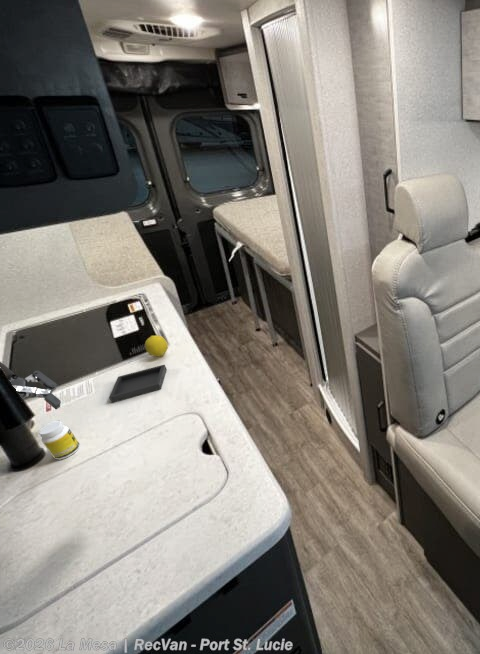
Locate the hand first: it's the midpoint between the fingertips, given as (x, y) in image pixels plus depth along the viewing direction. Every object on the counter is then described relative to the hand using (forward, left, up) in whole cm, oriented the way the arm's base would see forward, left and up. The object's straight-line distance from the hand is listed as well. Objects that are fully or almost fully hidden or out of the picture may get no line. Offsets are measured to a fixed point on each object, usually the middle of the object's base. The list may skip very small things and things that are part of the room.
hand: (36, 420), depth 91 cm
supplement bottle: (+3, -3, -9) cm, 10 cm away
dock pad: (+14, +16, -9) cm, 23 cm away
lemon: (+17, +30, -9) cm, 36 cm away
